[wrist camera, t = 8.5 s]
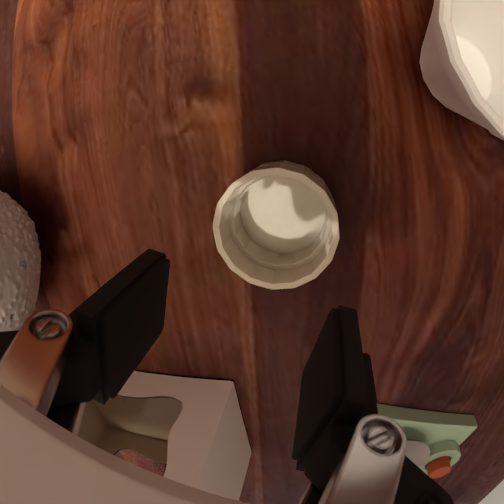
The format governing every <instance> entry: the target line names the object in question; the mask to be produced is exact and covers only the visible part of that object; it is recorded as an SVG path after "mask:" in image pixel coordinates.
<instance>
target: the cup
mask: <svg viewBox="0 0 504 504" xmlns="http://www.w3.org/2000/svg"><path fill="white" fill-rule="evenodd" d="M419 63H420V67H421V71H422V76H423V80H424V81H425V83H426V85H427V86H428V88H429V90H430V92H431V93H432V95H433V96H434V97H435V98H436V99H437V100H438V101H439V102H441V103H442V104H443V105H444V106H445V107H446V108H448V109H450V110H452V111H454V112H456V113H458V114H460V115H462V116H464V117H466V118H468V119H469V120H471V121H473V122H475V123H477V124H479V125H480V126H482V127H484V128H486V129H487V130H488V131H489V132H490V133H491V134H492V135H494V136H496V137H498V138H500V139H502V140H504V0H434V6H433V9H432V13H431V17H430V20H429V24H428V27H427V31H426V34H425V37H424V41H423V44H422V47H421V55H420V62H419Z"/></svg>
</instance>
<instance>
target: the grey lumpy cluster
mask: <svg viewBox="0 0 504 504" xmlns="http://www.w3.org/2000/svg"><path fill="white" fill-rule="evenodd" d="M39 245H40V244H39V242H38V235H37V233H36V232H35V224H34V221H32V220H31V218H30V217H29V216H28V213H27V211H25V210H24V209H23V207H21V205H19V204H17V202H16V201H15V200H13V199H11V197H10V196H9V195H8V194H7V193H3V192H1V190H0V332H3V331H15V330H20V328H21V327H22V325H23V324H24V322H25V321H26V319H27V318H28V317H29V316H30V315H32V314H33V310H34V309H35V308H36V305H35V303H36V302H37V297H38V291H39V284H40V272H41V264H40V263H41V251H40V250H39Z"/></svg>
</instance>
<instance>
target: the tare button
mask: <svg viewBox="0 0 504 504" xmlns="http://www.w3.org/2000/svg"><path fill="white" fill-rule="evenodd" d="M450 470H451V465H450V461H449V457H448V456H442V457H438V458H436V459H434V460H432V461H430V462H428V463H427V471H428V476H429V477H430V478H432V479H433V478H439V477H442V476H444V475H446V474H447V473H449V472H450Z"/></svg>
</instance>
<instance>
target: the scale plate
mask: <svg viewBox="0 0 504 504" xmlns="http://www.w3.org/2000/svg"><path fill="white" fill-rule="evenodd" d="M405 455H406V456H407V457H408V458H409V459H410V460H411V461H412V462H413V463H414V464H416V465H417V466H418V467H419V468H420V467H421V466H423V465H424V464H425V463H426V462H427V460H428V459H429V457H430V448H429V446H428V445H427V444H426V443H425V442H423V441H420V440H416V439H407V447H406V453H405Z"/></svg>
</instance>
